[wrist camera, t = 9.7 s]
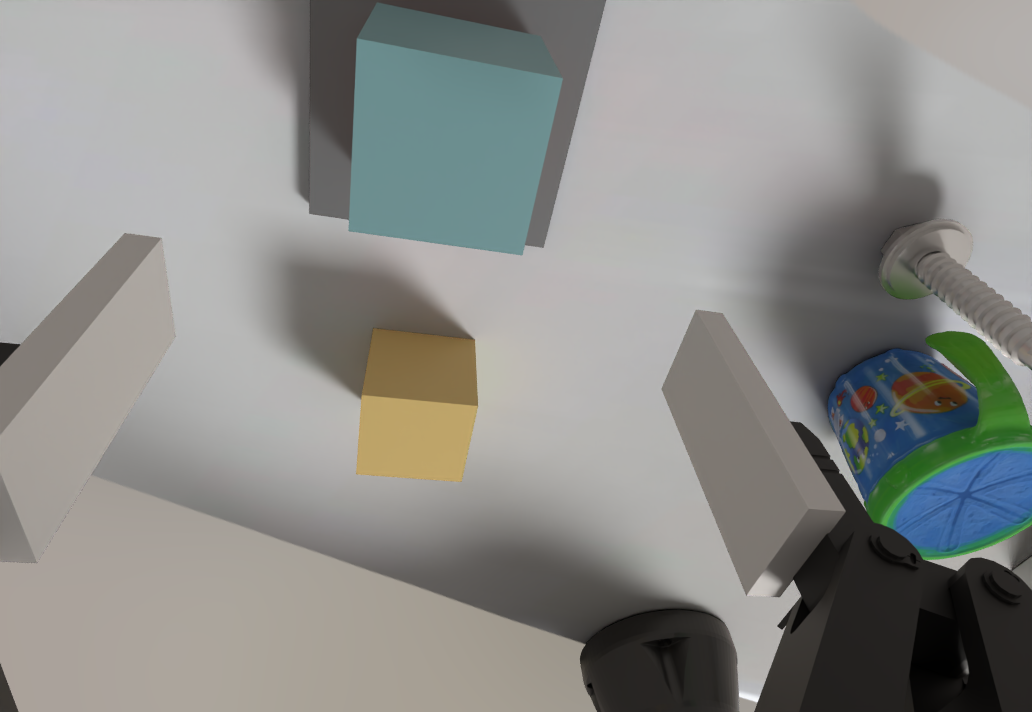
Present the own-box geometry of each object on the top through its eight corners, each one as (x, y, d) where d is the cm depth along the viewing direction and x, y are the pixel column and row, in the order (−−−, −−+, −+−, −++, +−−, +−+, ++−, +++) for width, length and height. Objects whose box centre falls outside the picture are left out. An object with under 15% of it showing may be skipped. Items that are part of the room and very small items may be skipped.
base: (541, 240, 34) (552, 287, 30) (312, 206, 32) (293, 252, 28) (603, -9, 27) (628, 11, 23) (314, -75, 25) (289, -65, 21)
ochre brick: (460, 411, 41) (461, 481, 37) (367, 403, 40) (356, 474, 36) (474, 338, 38) (477, 406, 33) (373, 327, 37) (361, 395, 32)
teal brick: (510, 187, 27) (522, 255, 22) (367, 164, 26) (348, 231, 21) (540, 36, 23) (563, 78, 19) (376, 2, 22) (356, 38, 18)
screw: (967, 215, 35) (912, 287, 38) (896, 195, 34) (845, 271, 37) (1179, 357, 25) (1082, 442, 28) (1087, 335, 24) (996, 426, 27)
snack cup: (907, 462, 48) (998, 580, 40) (774, 470, 47) (839, 592, 39) (1005, 287, 39) (1150, 397, 31) (840, 295, 38) (944, 409, 30)
